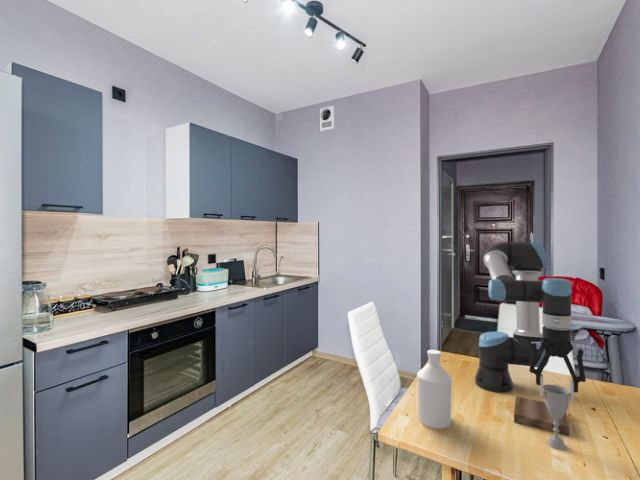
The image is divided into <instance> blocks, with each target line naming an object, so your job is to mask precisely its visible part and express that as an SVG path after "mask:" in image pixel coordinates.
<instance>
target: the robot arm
mask: <svg viewBox="0 0 640 480" xmlns="http://www.w3.org/2000/svg"><path fill="white" fill-rule="evenodd" d="M482 259H483V260H482V261H483V263H484V264H483V265H484V266H485V267H486V268H487V269H488V272H489V275H490V278H491V279H490V280H489V281H488V285H487V286H488V287H487V288H488V289H487V291H488V297H489V298H490V299H491V300H494V301H495V300H496V301H501V302H503V301H504V302H507V301H508V302H515V304H516V305H515V306H516V307H515V308H516V311H515V312H516V330H515V331H514V332H513V333H512V336H509V334H508V333H506V332H502V331H485V332H483V333H482V334H480V336H479V341H478V342H479V343H478V347H479V348H478V349H479V352H478V354H479V355H478V357H479V358H478V359H479V360H478V361H479V362H478V369H477V370H476V373H475V377H474V383H475V385H476V386H477V387H479V388H481V389H483V390H486V391H490V392H494V393H508V392H512V391H513V389H514V386H513V385H514V383H513V380H512V377H511V374H510V371H509V365H514V366H522V367H529V373H531V374H534V375H535V385H537V386H539V396H540V398H544V388H543V386H544V374H542V373H543V371H544V368H545V367H547V365H548V363H549V361H550V357H553V358H554V357H558V358H561V359H563V361H564V363H565V365H566V367H567V369H568V371H569V375H570V376H571V378H570V379H569V391H570V394H569V402H570V404H574V403H575V402H574V400H575V399H574V398H575V395H574V394H575V393H577V394H578V392H579V383H581V382H582V383H585V382H586V374H585V367H584V361H583V355H584V353H585V352H584V350H583V348H582V347H576V346H573V344H572V330H571V328H572V293H573V291H572V283H571V281H570V280H569V279H565V278H557V277H546V278H544V279H540V280H539V276H540V275H541V274H542V273H543V271H542V270H543V269H546V267H547V255H546V251H545V249H544V247H543V245H542V244H541V243H539V242H534V241H533V242H532V241H520V242H519V241H517V242H513V241H512V242H510V241H509V242H508V241H501V242H498V243H495V244H493V245H491V246H490V247H488V248H487V249H486V251H484V254H483V257H482ZM514 276H515V277H514ZM540 303H542V314H541V315H542V318H541V319H542V325H543V326H542V328H541V329H542V332H541V331H540V327H541V326H540V324H541V323H540V306H539V305H540ZM572 351H573V353H574V354H575V355H576V362H577V368H578V369H577V370H578V375H577V374H576V372H575V370H574V368H573V365H572V363H571V361H570V358H569V356H568V355H569V354H570V353H572Z"/></svg>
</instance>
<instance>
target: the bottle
mask: <svg viewBox="0 0 640 480" xmlns="http://www.w3.org/2000/svg"><path fill="white" fill-rule="evenodd" d="M426 351H427V352H426V354H427V357H428V363H427V364H426V365H425V366H424V367H423V368H421V369H420V370H419V371H417V374H416V377H417V378H416V381H417V382H416V383H417V419H418V421H419V422H420V423H421V424H422V425H423V426H427V427H429V428H432V429H439V430H440V429H445V428H448V427H450V425H451V422H452V419H451V418H452V417H451V416H452V376H451V374H449V373H448V372H447V371H446V370H445V368H444V367H443V366H442V365H441V364H440V362H441V361H440V359H441V358H440V357H441V356H442V355H441V353H442V352H441V351H440V350H437V349H429V350H426Z"/></svg>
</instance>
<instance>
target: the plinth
mask: <svg viewBox="0 0 640 480" xmlns="http://www.w3.org/2000/svg"><path fill="white" fill-rule="evenodd" d="M514 398H515V399H514V411H513V422H514V423H515V424H519V425H523V426H527V427H529V428H530V427H532V428H535V429H539V430H543V431H547V432H551V433H554V430H553V428H554V427H555V426H554V424H553V423H554V421H555V420H554V418H553V417H552V416H551V415H550V413H549V411H548V409H547V407H546V404H545V401H541V400H537V399H532V398H526V397H522V396H517V395H516V396H515V397H514ZM558 423H559V426H558V429H559V430H560V431H559V432H558V435H562V436H563V435H564V436H567V437H569V436H570V424H569V421H568V415H567V412H566V413H565V414H564V416H563V417H562V419H558Z"/></svg>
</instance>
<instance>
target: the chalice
mask: <svg viewBox="0 0 640 480" xmlns="http://www.w3.org/2000/svg"><path fill="white" fill-rule="evenodd" d="M543 391H544V402H545V404H546V407H547V409H548V411H549V413H550V415H551V416H552V417H553V418H554V420H555V421H554V423H553V424H554V426H555V427H554V428H553V430H554V432H553V434H552V435H550V436H549V438H548V439H547V441H546V444H547V445H548V446H549V447H550V448H552V449H554V450H558V451H559V450H560V451H564V450H567V446H566V445H565V442H564V440H563V439H562V438H561V437H560V436H559V433H558V432H559V431H560V430H559V429H558V426H559V423H558V419H562V417H563V416H564V414H565V413H566V414H567V411H568V409H569V396H570V389H568V388H566V387H564V386H560V385H556V384H543Z"/></svg>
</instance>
